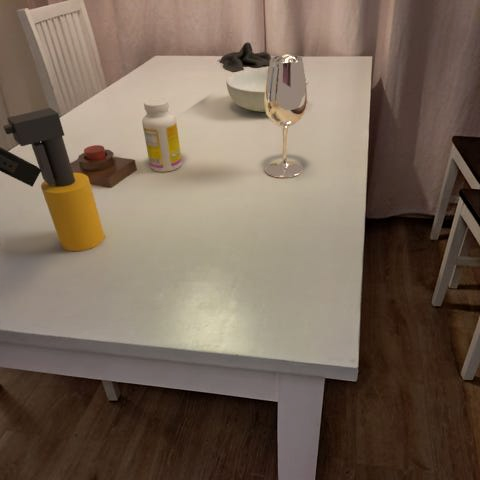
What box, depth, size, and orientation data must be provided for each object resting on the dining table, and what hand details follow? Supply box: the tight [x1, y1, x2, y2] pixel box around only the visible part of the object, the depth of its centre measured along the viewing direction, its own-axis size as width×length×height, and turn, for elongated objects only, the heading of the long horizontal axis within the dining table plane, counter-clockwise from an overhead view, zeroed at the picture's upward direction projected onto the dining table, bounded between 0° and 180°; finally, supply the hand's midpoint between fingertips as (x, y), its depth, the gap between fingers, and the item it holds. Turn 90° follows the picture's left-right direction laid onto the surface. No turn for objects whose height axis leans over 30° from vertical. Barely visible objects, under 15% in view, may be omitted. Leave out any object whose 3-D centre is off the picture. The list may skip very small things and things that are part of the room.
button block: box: [70, 148, 138, 189], centre depth 94 cm, size 12×9×4 cm
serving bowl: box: [225, 68, 309, 113], centre depth 121 cm, size 21×21×7 cm
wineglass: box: [264, 54, 308, 179], centre depth 87 cm, size 8×8×20 cm
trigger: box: [30, 142, 55, 185], centre depth 67 cm, size 1×3×6 cm, turn 36°
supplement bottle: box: [141, 97, 183, 173], centre depth 93 cm, size 7×7×13 cm
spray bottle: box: [2, 107, 105, 252], centre depth 69 cm, size 9×7×20 cm
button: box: [83, 144, 106, 160], centre depth 93 cm, size 4×4×2 cm
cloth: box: [219, 41, 272, 73], centre depth 158 cm, size 22×19×6 cm
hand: (35, 176), depth 67 cm, fingers closed
